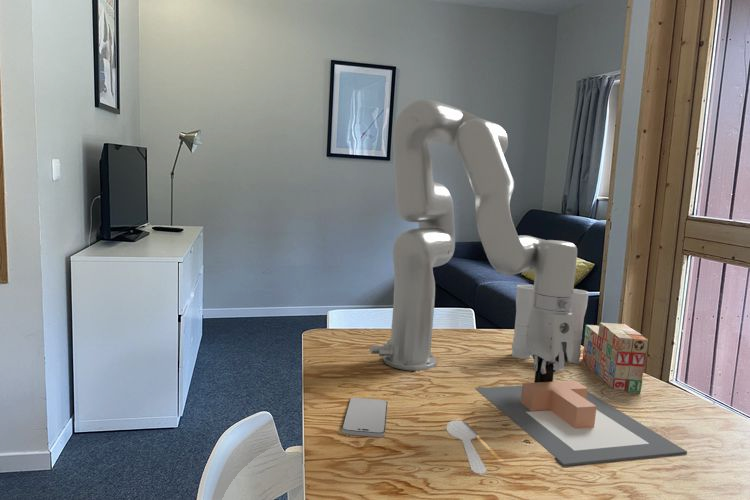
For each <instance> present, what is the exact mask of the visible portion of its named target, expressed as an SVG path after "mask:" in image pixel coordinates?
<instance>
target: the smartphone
mask: <svg viewBox="0 0 750 500" xmlns="http://www.w3.org/2000/svg"><path fill="white" fill-rule="evenodd" d="M387 412H388V401H387V400H384V399H377V398H376V399H375V398H365V397H364V398H363V397H351V398H349V401H348V404H347V409H346V412H345V416H344V418H343V423H342V426H341V433H342V434H345V435H348V436H349V435H351V436H362V437H374V438H382V437H385V434H386V426H387V425H386V424H387Z"/></svg>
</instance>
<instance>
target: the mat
mask: <svg viewBox="0 0 750 500" xmlns="http://www.w3.org/2000/svg"><path fill="white" fill-rule="evenodd" d="M474 389H475V391H477V392H479V393H480V394H481V395H482V396H483V397H484V398H485V399H487V400H488V401H489V402H490V403H492V404H493V405H494V406H495V407H496V408H497V409H498V410H500V411H501V412H502V413H503V414H504V415H505V416H506V417H508V418H509V419H510V420H511V421H513V423H514V424H516V425H517V426H518V427H520V428H521V429H522V430H523V432H525V433H527V434H528V435H529V436H530V437H531V438H532V439H533V440H535V441H536V442H537V443H538V444H539V445H541V446H542V447H543V448H544V449H546V450H547V452H549V454H551V456H553V457H554V460H555V461H557V462H558V463H559V464H560V465H561V466H562V467H571V466H579V465H580V466H581V465H589V464H591V465H592V464H599V463H601V464H602V463H608V462H620V461H628V460H629V461H630V460H636V459H638V460H639V459H647V458H657V457H658V458H659V457H668V456H677V455H686V454H687V453H688V451H687V450H685V449H684V448H682V447H681V446H679V445H677V444H675V443H674V442H672V441H670V439H667V438H666V437H664V436H662V435H661V434H659V433H657V432H655V431H654V430H652V429H650V428H649V427H648V426H646V425H644V424H642V423H641V422H639V421H637V420H636V419H634V418H633V417H631V416H629V415H627V414H626V413H624V412H623V411H621V410H619V409H617V408H616V407H614V406H612V405H611V404H609V403H608V402H605V401H604V400H603V399H601V398H599V397H598V396H596V395H594V394H592V393H591V392H590V391H589V390H588V391H587V399H586V400H588V401H589V402H591V403H592V404H594V405H595V406H597V408H596V416H595V424H594V427H591V428H577V429H575V428H573V427H572V426H571V425H569V424H568V423H567V422H565V421H564V420H563V419H561V418H560V417H559V416H557V415H556V414H555V413H553V412H552V411H551V410H540V411H531V410H529V409H528V408H527V407H526V406H524V405H523V404H522V403H521V394H522V385H510V386H509V385H506V386H503V385H502V386H488V387H474Z"/></svg>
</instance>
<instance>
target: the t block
mask: <svg viewBox="0 0 750 500" xmlns="http://www.w3.org/2000/svg"><path fill="white" fill-rule="evenodd" d="M521 386H522V394H521V403H522V404H523V405H524V406H526V407H527V408H528V409H529V410H531V411H540V410H551V411H552V412H553V413H555V414H556V415H557V416H559V417H560V418H561V419H563V420H564V421H565V422H567V423H568V424H569V425H571V426H572V427H573V428H575V429H577V428H591V427H594V424H595V416H596V408H597V406H595V405H594V404H592V403H591V402H589V401H588V400H586V399H587V391H588V392H589V388H588V387H586V386H585V385H583V384H582V383H580V382H578V381H576V380H565V381H561V380H560V381H553V382H537V383H534V382H522V385H521Z"/></svg>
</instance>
